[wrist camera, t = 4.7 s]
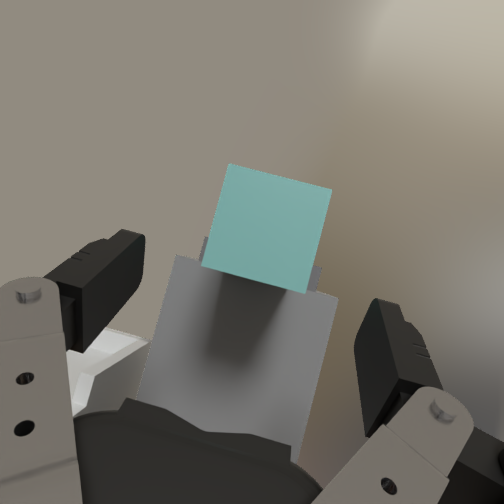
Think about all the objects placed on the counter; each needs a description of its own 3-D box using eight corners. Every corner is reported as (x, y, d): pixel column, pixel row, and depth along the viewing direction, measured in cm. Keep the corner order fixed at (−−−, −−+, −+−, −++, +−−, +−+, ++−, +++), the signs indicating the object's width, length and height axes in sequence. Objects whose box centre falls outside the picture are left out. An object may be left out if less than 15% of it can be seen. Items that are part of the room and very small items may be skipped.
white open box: (-203, 758, 20) (-78, 349, 21) (-1, 547, 35) (65, 315, 36) (-51, 811, 19) (69, 391, 20) (87, 574, 34) (152, 340, 35)
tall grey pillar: (23, 805, 20) (182, 230, 21) (118, 592, 33) (213, 245, 35) (194, 863, 20) (344, 273, 21) (221, 624, 33) (313, 272, 34)
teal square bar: (200, 265, 13) (228, 163, 13) (238, 268, 33) (249, 227, 33) (305, 293, 13) (332, 189, 13) (279, 279, 33) (290, 238, 33)
